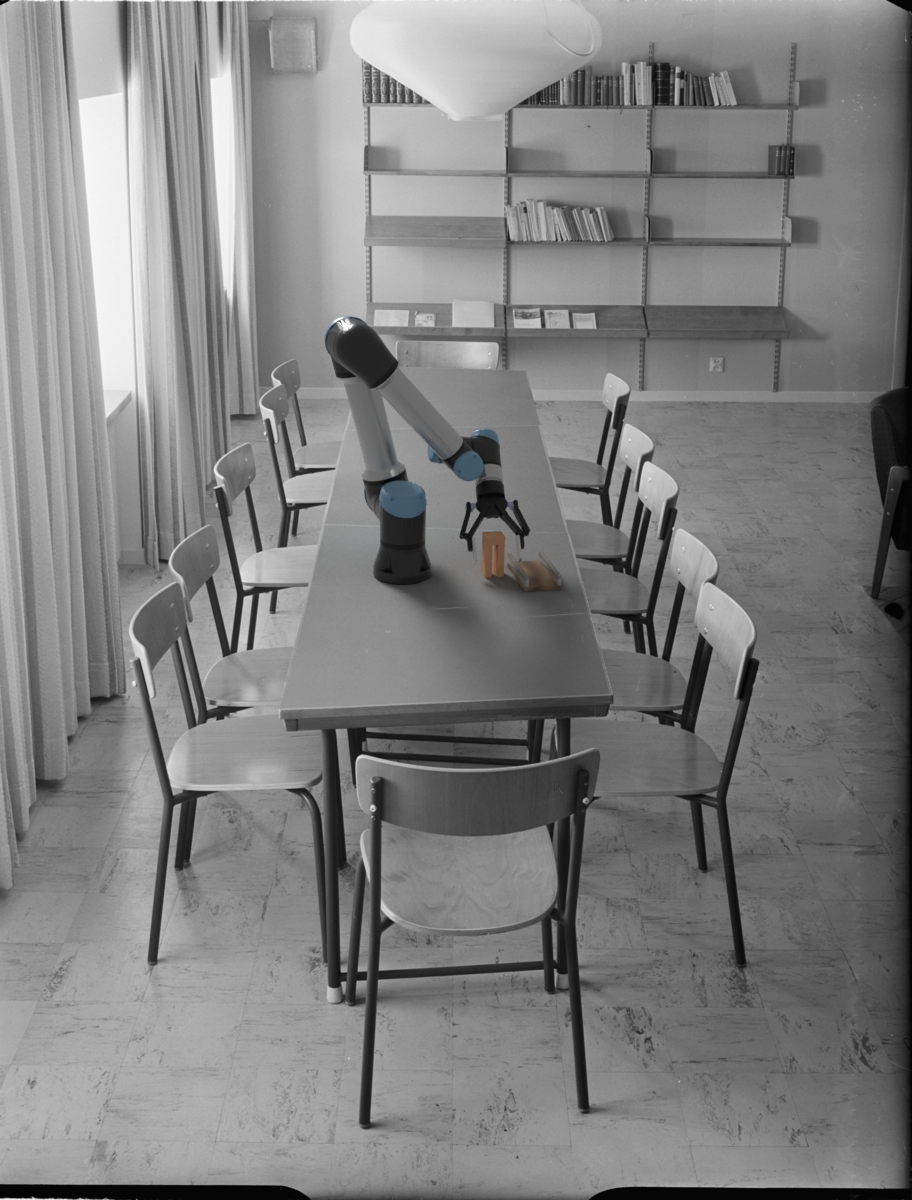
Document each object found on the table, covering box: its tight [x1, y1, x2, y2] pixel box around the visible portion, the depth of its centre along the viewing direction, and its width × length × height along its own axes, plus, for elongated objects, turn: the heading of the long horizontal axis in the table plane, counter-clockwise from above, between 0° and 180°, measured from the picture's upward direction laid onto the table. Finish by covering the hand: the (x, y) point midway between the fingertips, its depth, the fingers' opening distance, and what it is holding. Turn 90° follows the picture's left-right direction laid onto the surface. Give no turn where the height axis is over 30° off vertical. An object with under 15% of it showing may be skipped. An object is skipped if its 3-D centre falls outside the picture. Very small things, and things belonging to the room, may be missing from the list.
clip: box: [480, 530, 506, 579], centre depth 308 cm, size 5×4×11 cm
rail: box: [506, 551, 563, 593], centre depth 308 cm, size 10×18×4 cm, turn 12°
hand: (497, 561), depth 306 cm, fingers open, 11 cm apart
